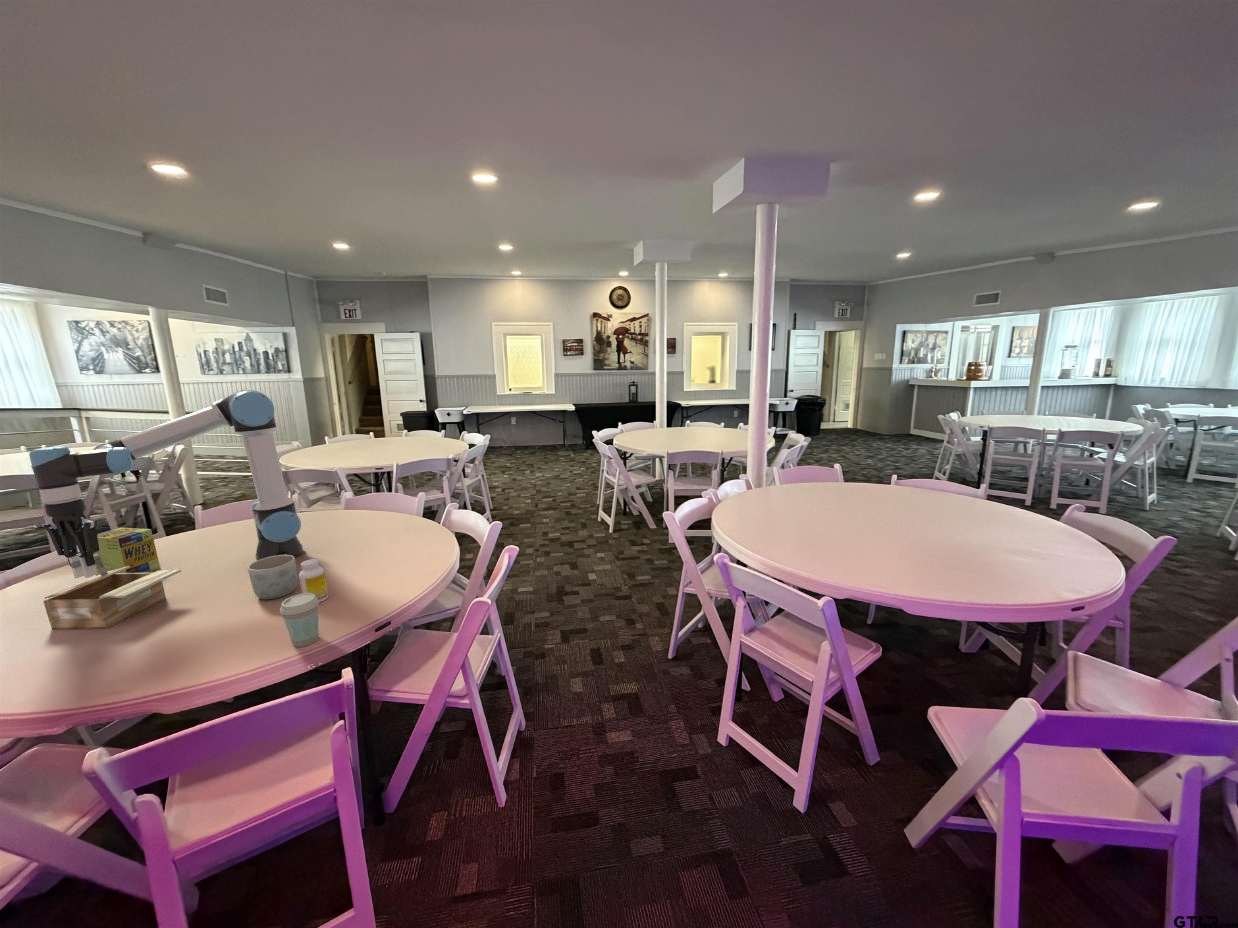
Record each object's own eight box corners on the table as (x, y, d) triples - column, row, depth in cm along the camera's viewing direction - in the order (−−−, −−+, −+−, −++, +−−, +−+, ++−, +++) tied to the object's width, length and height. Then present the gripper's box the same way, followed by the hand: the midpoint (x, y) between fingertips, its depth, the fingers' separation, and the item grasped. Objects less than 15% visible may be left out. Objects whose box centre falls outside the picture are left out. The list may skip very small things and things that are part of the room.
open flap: (44, 598, 134) (31, 575, 133) (110, 572, 151) (99, 551, 150) (67, 593, 134) (54, 569, 133) (130, 567, 151) (119, 545, 150)
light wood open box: (188, 597, 153) (182, 569, 151) (131, 628, 136) (123, 596, 134) (117, 599, 154) (109, 570, 152) (51, 629, 136) (41, 597, 134)
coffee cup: (298, 633, 131) (291, 593, 128) (330, 631, 131) (324, 591, 129) (279, 651, 122) (271, 608, 120) (314, 649, 123) (306, 606, 121)
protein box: (128, 580, 168) (117, 538, 165) (95, 577, 171) (84, 536, 168) (161, 567, 178) (152, 528, 175) (129, 565, 181) (120, 526, 178)
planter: (264, 606, 146) (257, 573, 144) (246, 596, 153) (240, 565, 151) (307, 590, 157) (302, 559, 154) (289, 581, 163) (283, 551, 161)
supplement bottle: (333, 596, 152) (327, 558, 149) (314, 606, 145) (307, 567, 143) (318, 593, 154) (311, 556, 151) (298, 603, 148) (291, 564, 145)
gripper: (103, 495, 140) (124, 569, 145) (52, 497, 141) (74, 571, 146) (75, 503, 133) (98, 580, 138) (21, 505, 133) (45, 582, 138)
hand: (86, 575), depth 142 cm, fingers open, 2 cm apart
